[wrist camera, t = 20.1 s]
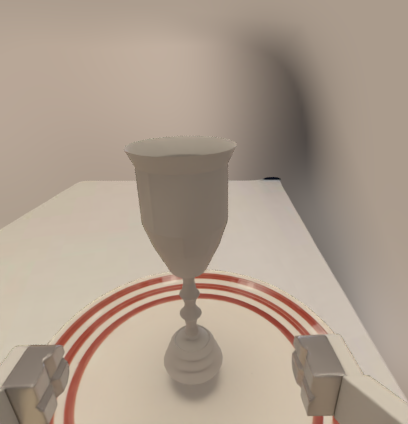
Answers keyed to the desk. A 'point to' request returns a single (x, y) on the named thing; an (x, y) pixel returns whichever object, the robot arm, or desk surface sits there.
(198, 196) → the chalice
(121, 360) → the dinner plate
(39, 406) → the robot arm
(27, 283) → the desk surface
